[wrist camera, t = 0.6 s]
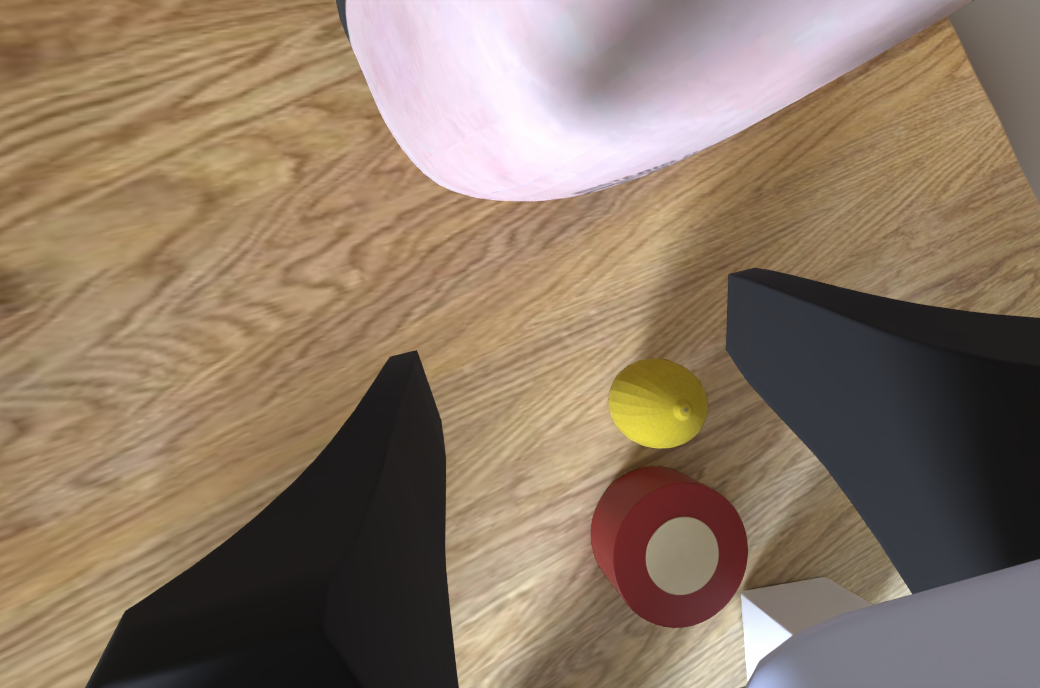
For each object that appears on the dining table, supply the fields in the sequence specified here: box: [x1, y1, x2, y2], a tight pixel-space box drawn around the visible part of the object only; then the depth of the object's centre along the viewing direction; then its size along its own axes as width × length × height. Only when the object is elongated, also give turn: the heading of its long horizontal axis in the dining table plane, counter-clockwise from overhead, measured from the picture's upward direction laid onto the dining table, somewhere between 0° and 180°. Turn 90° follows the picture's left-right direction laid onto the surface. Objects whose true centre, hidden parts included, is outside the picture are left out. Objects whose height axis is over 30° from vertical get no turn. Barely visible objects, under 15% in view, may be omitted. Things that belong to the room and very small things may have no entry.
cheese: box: [591, 466, 748, 628], centre depth 34 cm, size 9×9×5 cm
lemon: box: [608, 358, 708, 448], centre depth 32 cm, size 6×6×8 cm
